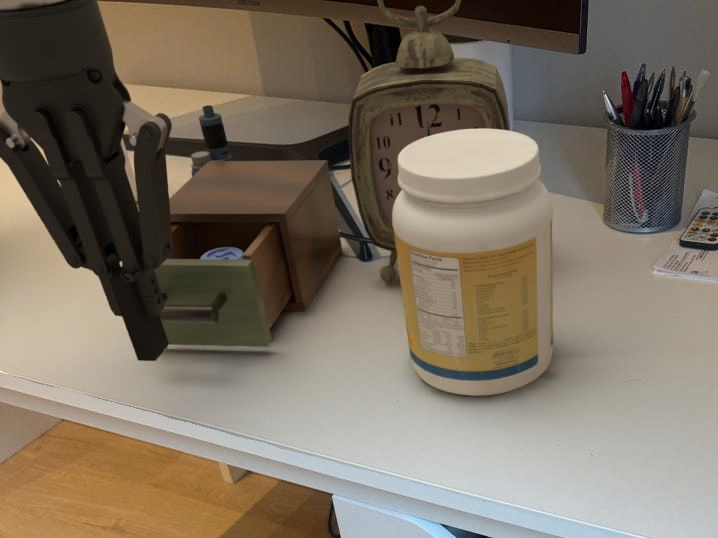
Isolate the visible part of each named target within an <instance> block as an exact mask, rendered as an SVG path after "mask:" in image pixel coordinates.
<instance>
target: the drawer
mask: <svg viewBox="0 0 718 538" xmlns="http://www.w3.org/2000/svg"><path fill="white" fill-rule="evenodd" d="M171 228H172V240H173V252H172V254H171V255H170V256H169V257H168V258H167V259H166V260H165V261H164V262H163V263H162V264H161V265H160V266H159V268H157V269H154V271H155V274H156V277H157V280H158V283H159V287H160V290H161V293H162V296H163V299H164V308H163V310H162V311H161V312H160V313H159V315H160V318H161V321H162V324H163V327H164V330H165V333H166V336H167V339H168V342H169V345H168V346H170V345H172V346H175V345H176V346H212V347H214V346H217V347H219V346H220V347H253V348H254V347H256V348H257V347H258V348H261V347H262V348H268V347H269V346H270V345H271V343H272V341H273V338H272V334H271V330H270V329H271V327H272V326H273V324H274V323H275V322H276V320H277V319H278V317H279V316H280V314H281V313H282V312H283V311H282V310H283V308H284V307H285V305H286V304H287V302H288V301H289V299H290V298H291V296H292V295H293V293H294V291H293V286H292V281H291V277H290V272H289V267H288V263H287V258H286V253H285V249H284V244H283V239H282V235H281V230H280V225H279V222H174V223H173V224H172V225H171ZM222 247H234V248H238V249H240V250H242V251H243V252H244V254H243V255H242V256H243V260H225V259H200V258H201V256H202V255H203V254H204V253H206V252H208V251H210V250H213V249H217V248H222ZM122 266H123V264H122V263H121V267H122Z"/></svg>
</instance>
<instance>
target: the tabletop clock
mask: <svg viewBox="0 0 718 538" xmlns="http://www.w3.org/2000/svg"><path fill="white" fill-rule="evenodd" d="M461 3H462V0H455V2H454V5H452V6H451V7H450V8H448V10H446V11H444V12H441V13H439V14H437V15H431V16H428V10H427V8H426V7H425V6H424V5H417V6H416V7H415V9H414V17H406V16H405V17H404V16H401V15H398V14H395V13H393V12H391V11H390V10H388V9H387V8H386V6H385V3H384V0H377V4H378V8H379V10H380V12H381V13H382V15H383V16H384V17H385V18H386V19H388V20H389V21H390V22H391V23H393V24H395V25H399V26H400V27H404V28H413V29H415V30H414V31H412V32H409V33H407V34H406V35H404V37H403V39H402V40H401V42H400V44H399V46H398V49H397V53H396V58H395V61H394V62H390V63H384V64H381V65H378V66H375V67H372V69H369V70H368V71H367V72H364V73H363V74H361V76H360V79H359V82H358V84H357V86H356V90H355V93H354V95H353V97H352V101H351V106H350V109H349V110H350V111H349V115H348V126H347V127H348V130H347V132H348V133H347V135H348V136H347V140H348V154H349V164H350V166H349V167H350V176H351V182H352V187H353V191H354V195H355V199H356V203H357V204H356V205H357V209H358V212H359V216H360V219H361V223H362V225H363V227H364V230H365V233H366V234H367V236H368V238H369V240H370V242H371V243H372V245H373V246H374V247H377V248H380V249H381V250H385V251H389V252H390V256H389V262H388V264H386V265H384V266H382V268H381V269H380V272H379V277H380V278H381V280H382V281H383V283H387V284H390V283H393V282H395V280H396V278H397V270H396V268H395V264H396V263H397V261H398V259H397V251H396V244H395V236H394V228H393V225H392V211H393V206H394V203H395V200H396V198H397V196H398V195H399V193H400V192H401V191H402V189H401V188H400V186H399V184H398V174H399V169H398V155H399V153H400V152H401V151H402V150H403V149H404V148H405V147H406V146H408V145H409V144H411V143H413V142H415V141H417V140H419V139H422V138H424V137H428V136H431V135H434V134H439V133H443V132H449V131H455V130H463V129H500V130H508V131H511V126H510V114H509V105H508V99H507V94H506V90H505V86H504V82H503V80H502V78H501V75H500V72H499V70H498V67H497V66H496V65H494V64H491V63H489V62H486V61H484V60H481V59H478V58H477V59H476V58H471V57H455V54H454V51H453V49H452V46H451V44H450V42H449V41H448V39H447V38H446V37H445V35H443V34H442V33H441V32H439V31H436V30H433V29H429V28H430V27H434V26H438V25H440V24H443V23H445V22H446V21H448V20H451V19H452V17H453V16H454V15H455V14H456V13H457V11H459V8H460V6H461Z"/></svg>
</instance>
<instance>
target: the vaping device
mask: <svg viewBox="0 0 718 538" xmlns="http://www.w3.org/2000/svg"><path fill="white" fill-rule="evenodd" d="M213 107H214V106H213V105H211V104H210V105H209V104H208V105H204V106H202V107H201V108H202V111H203V114H202V115H200V116H198V122H199V124H200V129H201V133H202V137H203V141H204V145H205V149H206V150H202V151H195V152H193V153H191V154H190V159H191V162H192V163H191V165H190V167H191V171H190V172H191V178H192V177H193V176H194V175H195V174H196V173H197V172H198V171H199V170H200V169H201V168H202V167H203V166H204V165H205V164H206V163H207V162H209V161H233V156H232V154H231V152H230V147H229V144H228V138H227V135H226V131H225V126H224V122H223V118H222V115H221V113H218V112H215V111H214V108H213Z"/></svg>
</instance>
